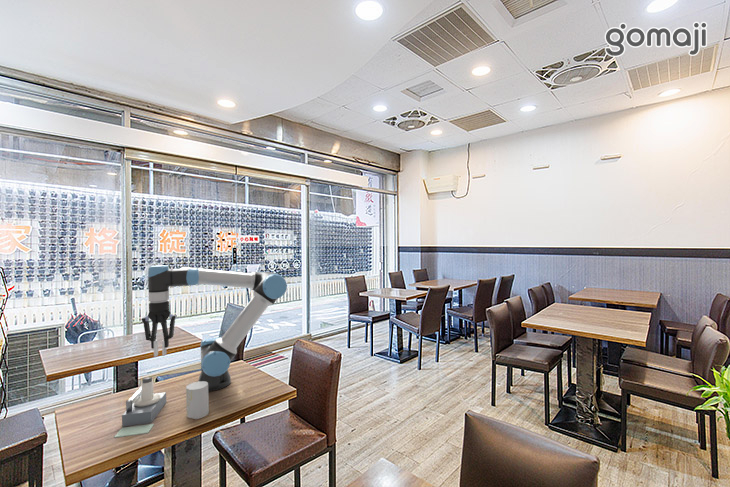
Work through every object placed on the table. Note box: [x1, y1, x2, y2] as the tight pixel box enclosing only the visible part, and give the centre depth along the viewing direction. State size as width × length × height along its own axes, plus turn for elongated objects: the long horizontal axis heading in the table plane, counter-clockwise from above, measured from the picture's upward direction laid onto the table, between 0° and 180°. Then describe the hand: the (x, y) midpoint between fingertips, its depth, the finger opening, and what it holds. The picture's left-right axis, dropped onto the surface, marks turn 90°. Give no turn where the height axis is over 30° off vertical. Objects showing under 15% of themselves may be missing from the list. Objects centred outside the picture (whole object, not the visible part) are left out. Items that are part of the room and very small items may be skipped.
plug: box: [134, 376, 161, 407], centre depth 139 cm, size 9×9×14 cm
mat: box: [113, 423, 155, 439], centre depth 126 cm, size 11×6×1 cm, turn 104°
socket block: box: [121, 391, 167, 428], centre depth 139 cm, size 10×18×5 cm, turn 14°
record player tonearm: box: [125, 386, 141, 412], centre depth 139 cm, size 2×16×4 cm, turn 14°
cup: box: [185, 381, 210, 420], centre depth 139 cm, size 8×8×12 cm
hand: (160, 355), depth 145 cm, fingers open, 3 cm apart
